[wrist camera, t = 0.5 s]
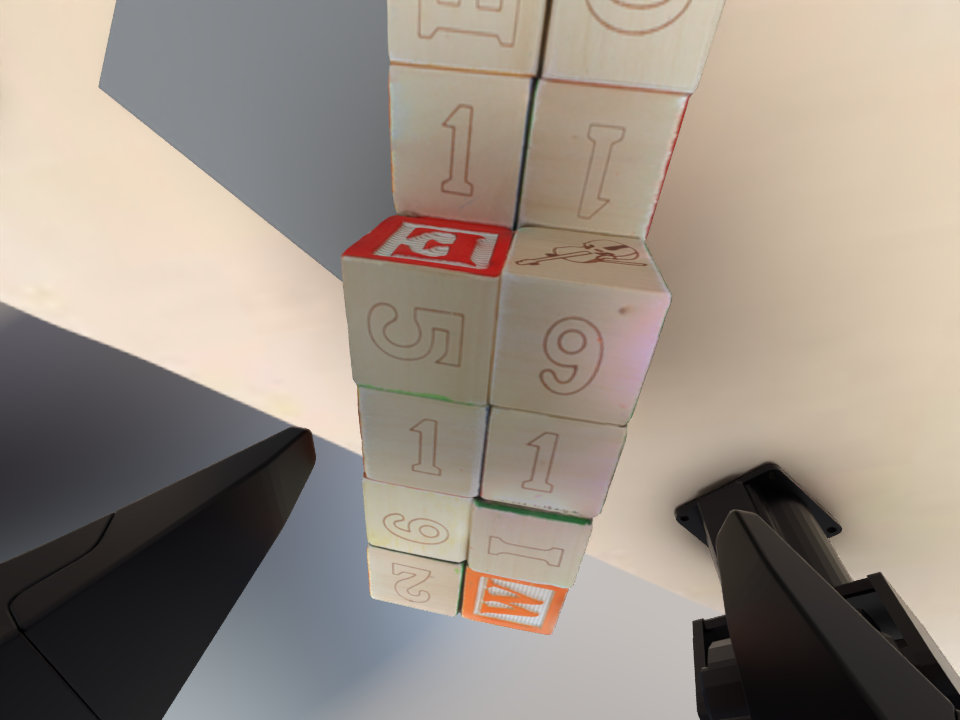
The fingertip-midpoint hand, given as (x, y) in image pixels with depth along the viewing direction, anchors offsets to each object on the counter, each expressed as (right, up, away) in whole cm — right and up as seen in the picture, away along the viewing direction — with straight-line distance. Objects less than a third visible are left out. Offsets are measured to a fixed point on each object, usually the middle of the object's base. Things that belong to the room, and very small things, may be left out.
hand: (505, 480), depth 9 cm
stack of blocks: (+2, +9, +10) cm, 14 cm away
